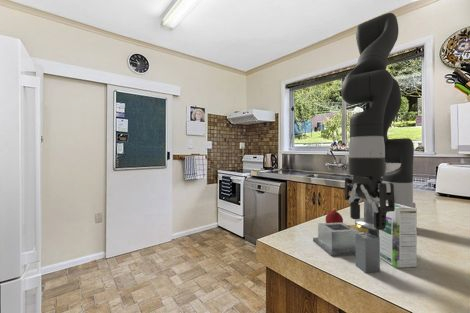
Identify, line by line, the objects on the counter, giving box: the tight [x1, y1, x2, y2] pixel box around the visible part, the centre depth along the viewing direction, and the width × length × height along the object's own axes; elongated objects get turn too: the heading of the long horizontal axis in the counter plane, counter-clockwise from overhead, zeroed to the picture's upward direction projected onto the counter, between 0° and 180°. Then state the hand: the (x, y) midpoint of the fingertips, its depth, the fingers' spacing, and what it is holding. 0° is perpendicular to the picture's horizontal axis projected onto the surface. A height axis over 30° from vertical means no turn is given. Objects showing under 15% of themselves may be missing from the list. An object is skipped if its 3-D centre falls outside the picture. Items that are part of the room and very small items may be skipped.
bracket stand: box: [312, 197, 380, 257], centre depth 68 cm, size 20×11×23 cm, turn 96°
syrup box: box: [379, 203, 418, 269], centre depth 57 cm, size 6×6×14 cm
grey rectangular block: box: [355, 233, 381, 274], centre depth 54 cm, size 4×4×8 cm
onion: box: [325, 208, 344, 223], centre depth 82 cm, size 6×6×8 cm
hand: (366, 223), depth 54 cm, fingers open, 8 cm apart
